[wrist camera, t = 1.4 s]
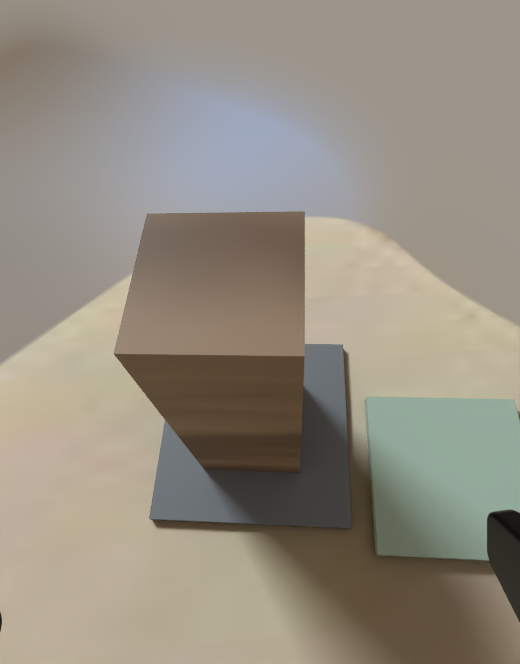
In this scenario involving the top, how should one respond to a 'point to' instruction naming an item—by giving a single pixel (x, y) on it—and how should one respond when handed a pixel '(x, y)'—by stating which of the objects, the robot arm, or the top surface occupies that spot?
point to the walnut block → (222, 334)
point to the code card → (270, 487)
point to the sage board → (440, 473)
